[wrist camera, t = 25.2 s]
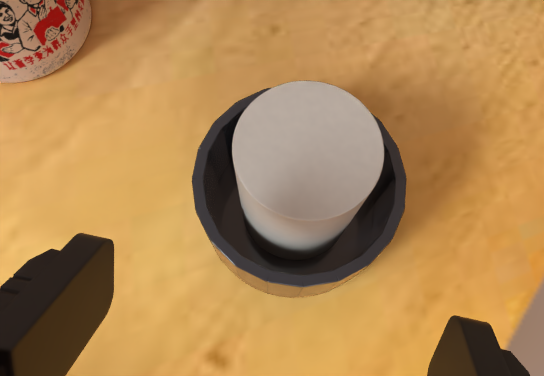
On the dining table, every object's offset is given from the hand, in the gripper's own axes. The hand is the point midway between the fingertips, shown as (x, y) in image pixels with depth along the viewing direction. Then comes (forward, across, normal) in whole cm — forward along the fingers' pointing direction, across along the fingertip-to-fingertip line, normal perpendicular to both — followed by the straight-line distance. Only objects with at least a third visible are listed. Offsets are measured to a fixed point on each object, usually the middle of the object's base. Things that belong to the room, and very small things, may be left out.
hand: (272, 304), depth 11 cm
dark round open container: (+14, 0, +5) cm, 14 cm away
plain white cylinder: (+13, 0, +4) cm, 14 cm away
